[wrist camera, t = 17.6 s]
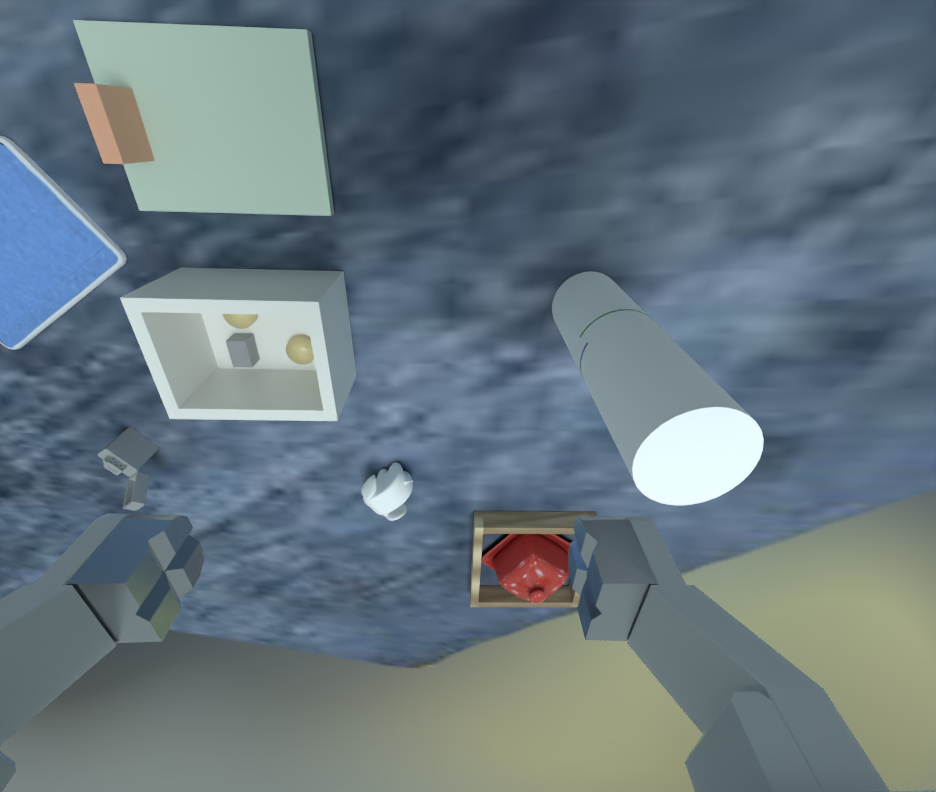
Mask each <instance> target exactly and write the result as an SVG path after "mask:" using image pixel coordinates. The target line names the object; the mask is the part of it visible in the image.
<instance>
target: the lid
mask: <svg viewBox="0 0 936 792" xmlns="http://www.w3.org/2000/svg"><path fill="white" fill-rule="evenodd" d="M73 22H74V25H75V27H76V30H77V33H78V36H79V39H80V42H81V45H82V48H83V50H84V53H85V56H86V59H87V62H88V65H89V68H90V70H91V73H92V76H93V79H94V82H95V84H86V83H74V85H75V88H76V90H77V93H78V96H79V98H80V101H81V104H82V106H83V109H84V112H85V115H86V117H87V120H88V123H89V125H90V128H91V131H92V133H93V136H94V139H95V142H96V144H97V147H98V150H99V152H100V155H101V158H102V161H103V163H106V164H123V165H124V168H125V171H126V174H127V176H128V179H129V182H130V185H131V188H132V191H133V194H134V196H135V199H136V202H137V205H138V208H139V211H173V212H210V213H246V214H282V215H318V216H332V215H333V214H334V207H333V199H332V191H331V183H330V175H329V167H328V159H327V151H326V143H325V135H324V128H323V120H322V112H321V104H320V96H319V88H318V80H317V72H316V64H315V56H314V49H313V41H312V33H311V32H310V31H308V30H306V29H282V28H257V27H232V26H207V25H182V24H158V23H133V22H108V21H83V20H73Z"/></svg>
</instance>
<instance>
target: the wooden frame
mask: <svg viewBox="0 0 936 792" xmlns="http://www.w3.org/2000/svg"><path fill="white" fill-rule="evenodd" d="M578 517H597V516H596V514H595V512H539V511H474V522H473V542H472V562H471V582H470V607H578V604H579V600H580V595H579V594H578V593H577V592H576V591H575V590H574V589H573V588H572V584H571V580H570V582H569V586H561V587H560V588H559V589H558V590H557V591H555V592H554V593H553V594H551V595H550V596H548V597H546V599H545V600H544V601H543V602H541V603H532V602H531V601H527V600H524V599H521V598H519V597H517V596H515V595H513V594H512V593H510V592H509V591H507V590H506V589H505V588H503V587H502V585H480V571H481V556H482V542H483V534H575V533H574V525H575V521H576V519H577V518H578Z"/></svg>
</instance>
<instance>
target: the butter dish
mask: <svg viewBox="0 0 936 792" xmlns="http://www.w3.org/2000/svg"><path fill="white" fill-rule="evenodd" d="M569 547H570V543H569V542H567V541H566V540H564V539H562V538H561V537H559V536H557V535H555V534H509V535H508V536H507V537H505V538H504V539H503V540H502V541H501V542H500V543H498V544H497V545H496V546H495V547H494V548H492V549H491V550H490V551H488V552H487V553H486V554H485V555H484V556H483V557H482V559H481V561H482V562H483V563H484V564H485V565H487V566H488V567H490V568H492V569H493V570H495V571H496V574H497V577H498V580H499V582H500V584H501V585H502V587H503V588H505V589H506V590H507V591H509V592H510V593H512V594H513V595H515V596H517V597H519V598H521V599H524V600H527V601H531V602H532V603H541V602H543V601H544V600H545V599H546V597H548V596H550V595H551V594H553V593H554V592H555V591H557V590H558V589H559V588H560V587H561V586H562V585H563V584H564V583H565V581H566V580H567V578H568V575H569V568H568V553H569Z"/></svg>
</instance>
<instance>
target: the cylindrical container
mask: <svg viewBox="0 0 936 792" xmlns="http://www.w3.org/2000/svg"><path fill="white" fill-rule="evenodd" d="M552 315H553V318H554V321H555V323H556V325H557V327H558V329H559V331H560V333H561V335H562V337H563V339H564V341H565V343H566V345H567V347H568V349H569V351H570V353H571V355H572V357H573V359H574V361H575V363H576V365H577V367H578V369H579V371H580V373H581V375H582V377H583V379H584V381H585V383H586V385H587V387H588V389H589V391H590V393H591V395H592V397H593V400H594V402H595V404H596V406H597V408H598V410H599V412H600V414H601V416H602V418H603V420H604V422H605V424H606V426H607V428H608V430H609V432H610V434H611V436H612V438H613V440H614V442H615V444H616V446H617V448H618V450H619V452H620V454H621V456H622V458H623V460H624V462H625V464H626V466H627V468H628V470H629V472H630V474H631V476H632V478H633V480H634V482H635V484H636V486H637V488H638V489H639V490H640V491H641V492H642V493H643V494H644V495H645V496H647V497H648V498H650V499H652V500H654V501H657V502H659V503H663V504H668V505H691V504H696V503H701V502H705V501H708V500H711V499H713V498H716V497H718V496H720V495H722V494H724V493H726V492H728V491H730V490H731V489H733V488H734V487H736V486H737V485H738V484H740V483H741V482H742V481H743V480H744V479H745V478H746V477H747V476H748V475H749V474H750V473H751V472H752V470H753V469H754V468H755V466H756V464H757V463H758V461H759V459H760V456H761V453H762V451H763V435H762V431H761V429H760V427H759V426H758V424H757V422H756V421H755V420H754V419H753V418H752V417H751V416H750V415H749V414H748V413H747V412H746V411H745V410H744V409H743V408H742V407H741V406H740V405H739V404H738V403H737V402H736V401H735V400H733V399H732V398H731V397H730V396H729V395H728V394H727V393H726V392H725V391H724V390H723V389H722V388H721V387H720V386H719V385H718V384H717V383H716V382H715V381H714V380H713V379H712V378H711V377H710V376H709V375H708V374H707V373H706V372H705V371H704V370H703V369H702V368H701V367H700V366H699V365H698V364H697V363H696V362H695V361H694V360H693V359H692V358H691V357H690V356H689V355H688V354H687V353H686V352H685V351H684V350H683V349H682V348H681V347H680V346H679V345H678V344H677V343H676V342H675V341H674V340H673V339H672V338H671V337H670V336H669V335H668V334H667V333H666V332H665V331H664V330H663V329H662V328H661V327H660V326H659V325H658V324H657V323H656V322H655V321H653V320H652V319H651V318H650V317H649V316H648V315H647V314H646V313H645V312H644V311H643V310H642V309H641V308H640V307H639V306H638V305H637V304H636V303H635V302H634V301H633V300H632V299H631V298H630V297H629V296H628V295H627V294H626V293H625V292H624V291H623V290H622V289H621V288H620V287H619V286H618V285H617V284H616V283H615V282H614V281H613V280H612V279H611V278H609V277H608V276H606V275H605V274H602V273H599V272H593V271H589V272H582V273H579V274H576V275H574V276H572V277H570V278H569V279H568V280H566V281H565V282H564V283H563V284H562V285H561V286H560V287H559V289H558V290H557V292H556V293H555V296H554V298H553V302H552Z"/></svg>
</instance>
